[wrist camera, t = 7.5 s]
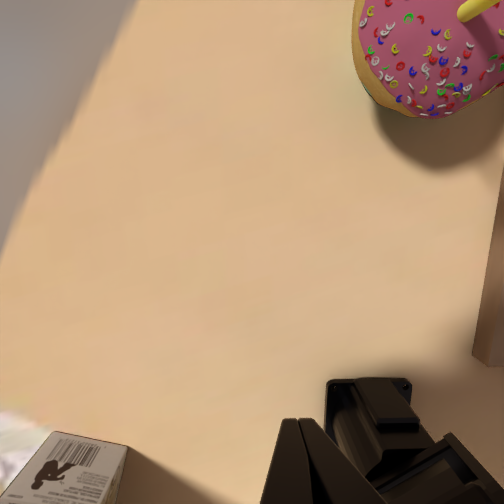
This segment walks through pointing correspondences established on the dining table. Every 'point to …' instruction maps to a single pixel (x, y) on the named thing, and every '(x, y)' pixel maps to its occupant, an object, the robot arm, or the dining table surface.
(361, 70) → the cupcake
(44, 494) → the coffee box
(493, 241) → the base
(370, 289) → the dining table surface
